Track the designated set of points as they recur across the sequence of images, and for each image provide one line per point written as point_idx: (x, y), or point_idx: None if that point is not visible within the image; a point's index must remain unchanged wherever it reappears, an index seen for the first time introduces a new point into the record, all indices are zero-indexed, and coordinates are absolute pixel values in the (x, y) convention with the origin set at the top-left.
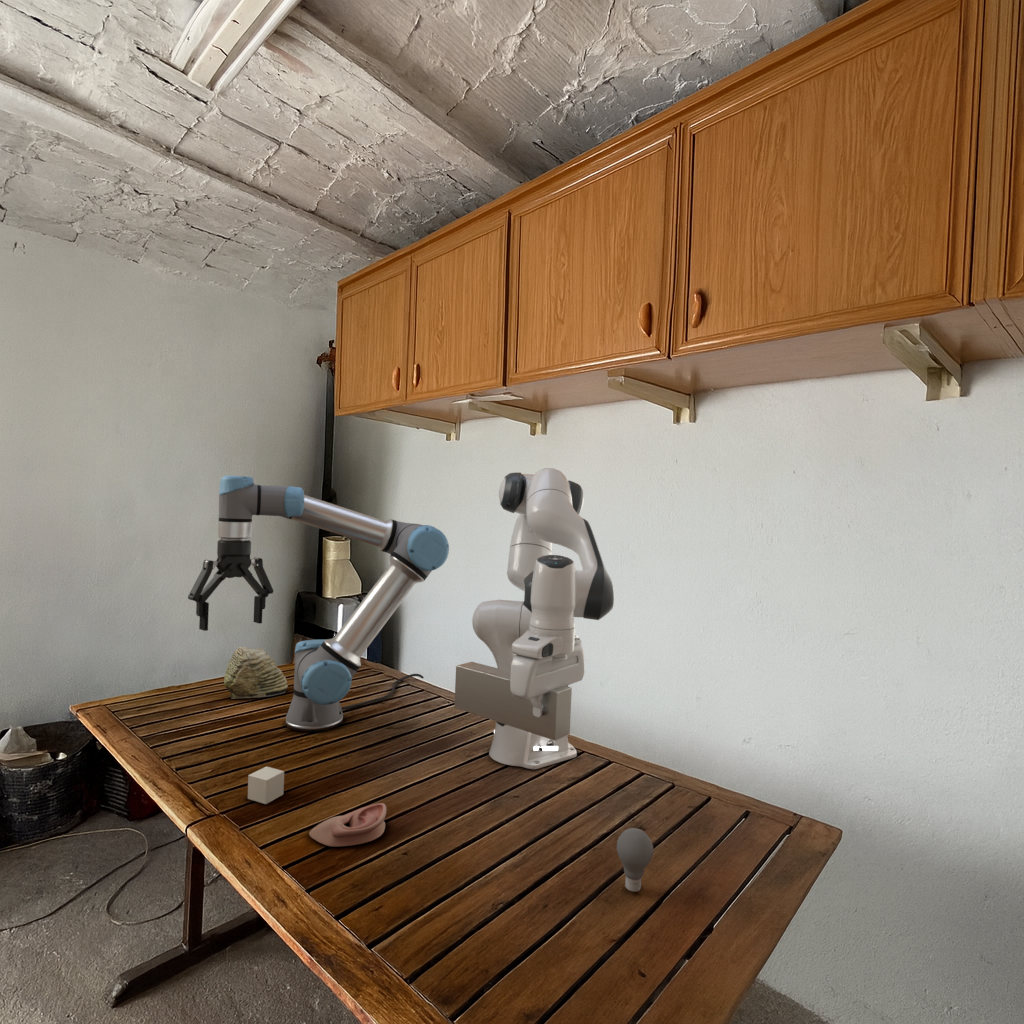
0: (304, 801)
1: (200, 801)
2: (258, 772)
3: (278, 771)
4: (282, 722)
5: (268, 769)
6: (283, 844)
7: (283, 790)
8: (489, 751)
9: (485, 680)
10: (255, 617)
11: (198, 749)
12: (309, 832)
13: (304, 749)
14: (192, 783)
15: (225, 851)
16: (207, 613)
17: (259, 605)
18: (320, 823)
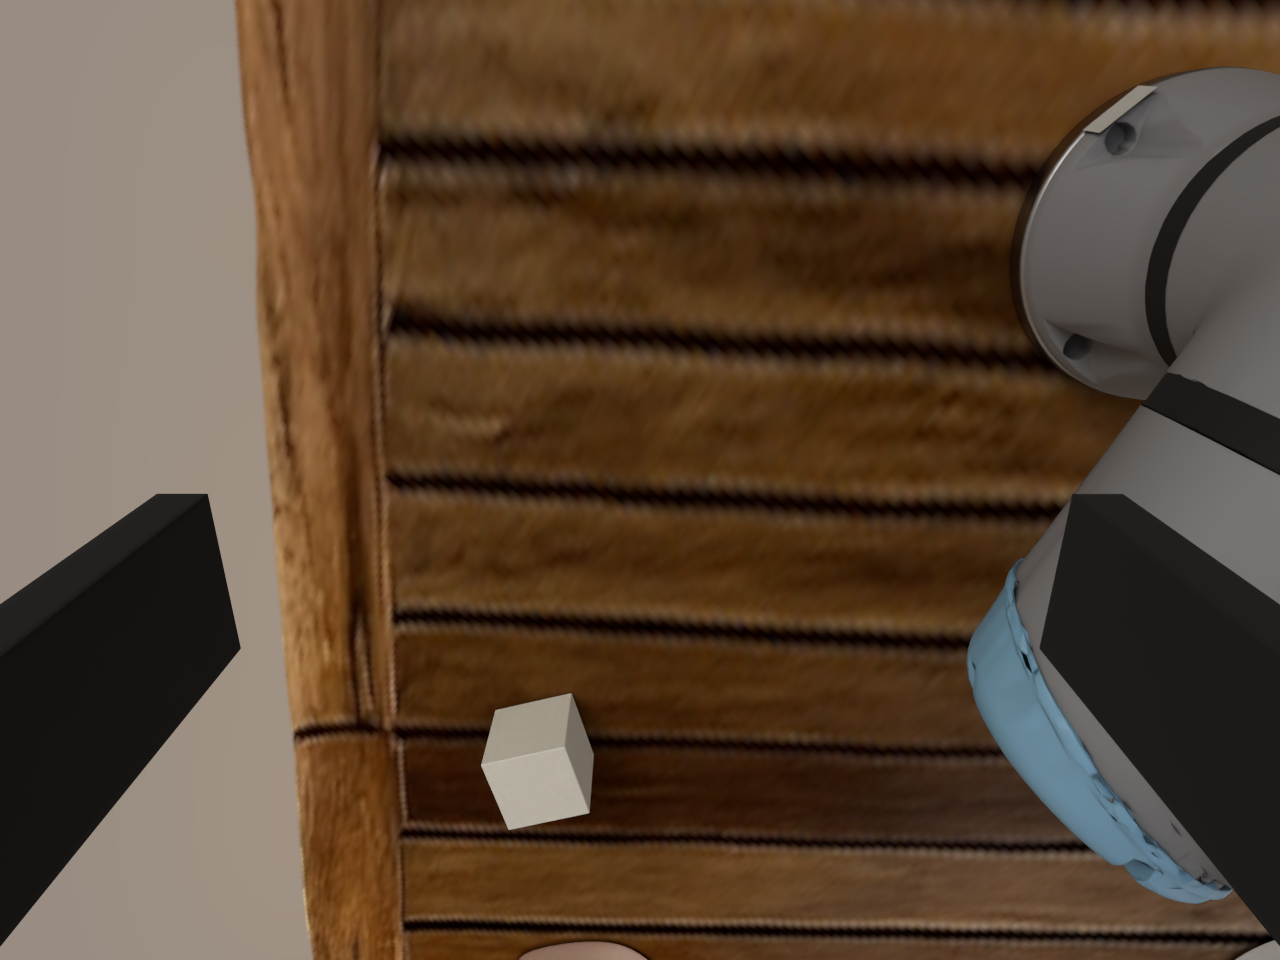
0: (615, 822)
1: (372, 630)
2: (517, 770)
3: (573, 803)
4: (1067, 102)
5: (555, 772)
6: (454, 944)
7: (592, 764)
8: (1256, 955)
9: None
10: (1106, 585)
11: (551, 160)
12: (522, 957)
13: (882, 502)
14: (398, 489)
15: (331, 890)
16: (63, 842)
17: (1233, 869)
18: (560, 958)
